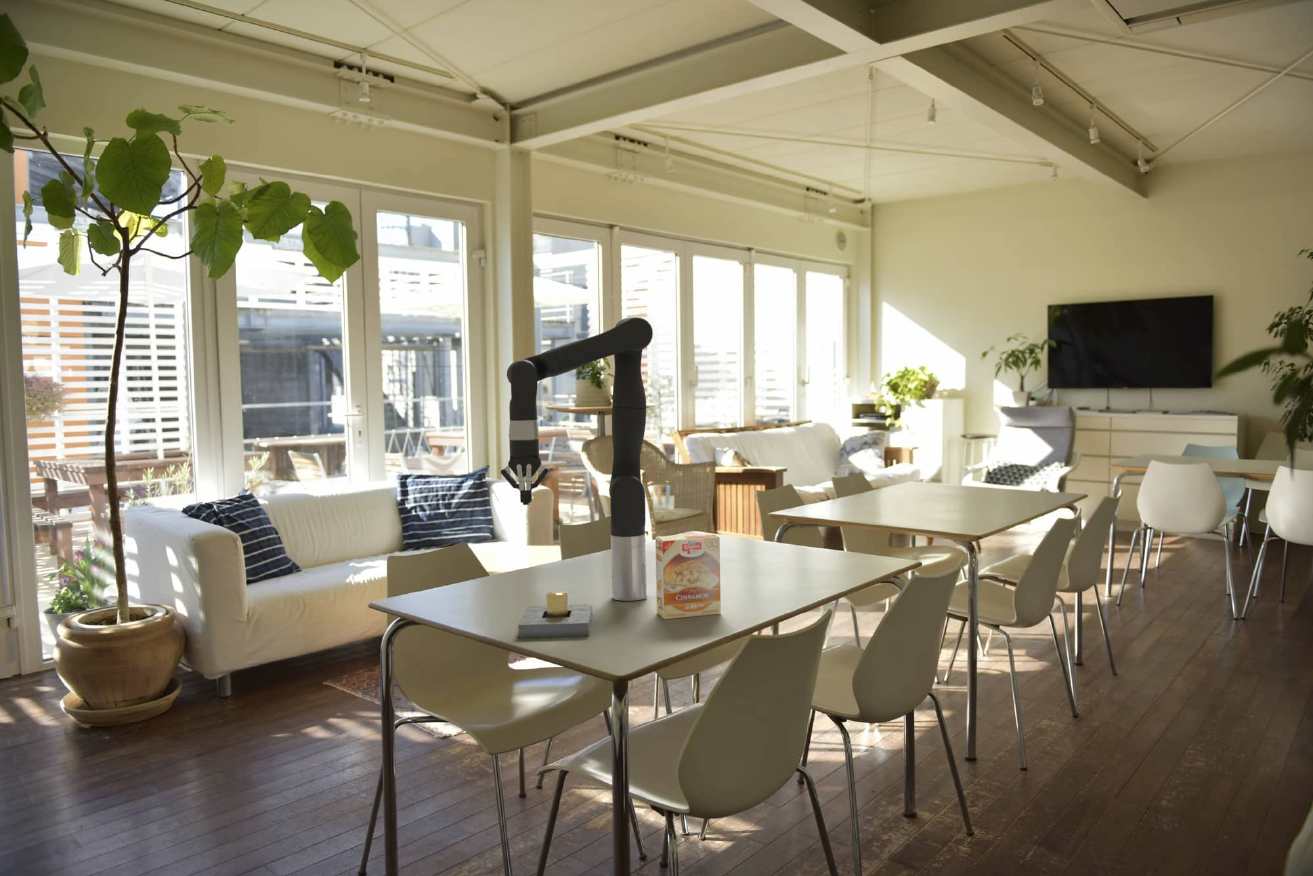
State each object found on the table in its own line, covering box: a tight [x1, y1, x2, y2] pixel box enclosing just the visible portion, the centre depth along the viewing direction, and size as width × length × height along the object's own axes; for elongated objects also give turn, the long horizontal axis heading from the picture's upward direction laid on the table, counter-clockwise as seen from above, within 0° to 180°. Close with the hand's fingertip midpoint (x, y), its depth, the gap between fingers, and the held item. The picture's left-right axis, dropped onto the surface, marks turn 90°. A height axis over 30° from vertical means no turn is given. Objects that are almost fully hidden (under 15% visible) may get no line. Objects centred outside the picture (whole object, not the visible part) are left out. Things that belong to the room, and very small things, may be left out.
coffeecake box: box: [654, 532, 722, 620], centre depth 230 cm, size 15×7×20 cm, turn 106°
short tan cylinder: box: [545, 590, 569, 618], centre depth 220 cm, size 5×5×8 cm
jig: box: [517, 603, 594, 639], centre depth 220 cm, size 16×18×3 cm
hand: (526, 504), depth 239 cm, fingers closed
